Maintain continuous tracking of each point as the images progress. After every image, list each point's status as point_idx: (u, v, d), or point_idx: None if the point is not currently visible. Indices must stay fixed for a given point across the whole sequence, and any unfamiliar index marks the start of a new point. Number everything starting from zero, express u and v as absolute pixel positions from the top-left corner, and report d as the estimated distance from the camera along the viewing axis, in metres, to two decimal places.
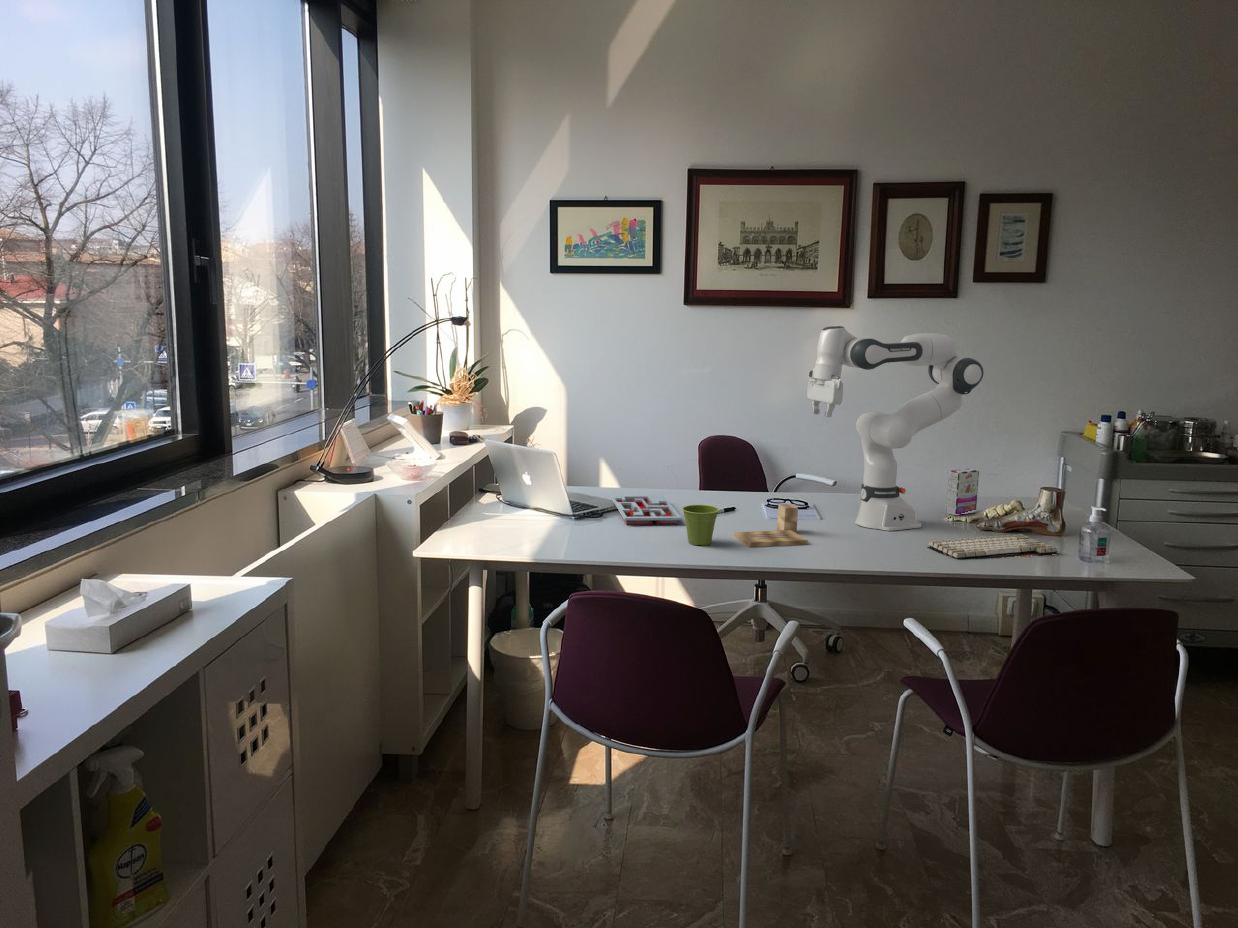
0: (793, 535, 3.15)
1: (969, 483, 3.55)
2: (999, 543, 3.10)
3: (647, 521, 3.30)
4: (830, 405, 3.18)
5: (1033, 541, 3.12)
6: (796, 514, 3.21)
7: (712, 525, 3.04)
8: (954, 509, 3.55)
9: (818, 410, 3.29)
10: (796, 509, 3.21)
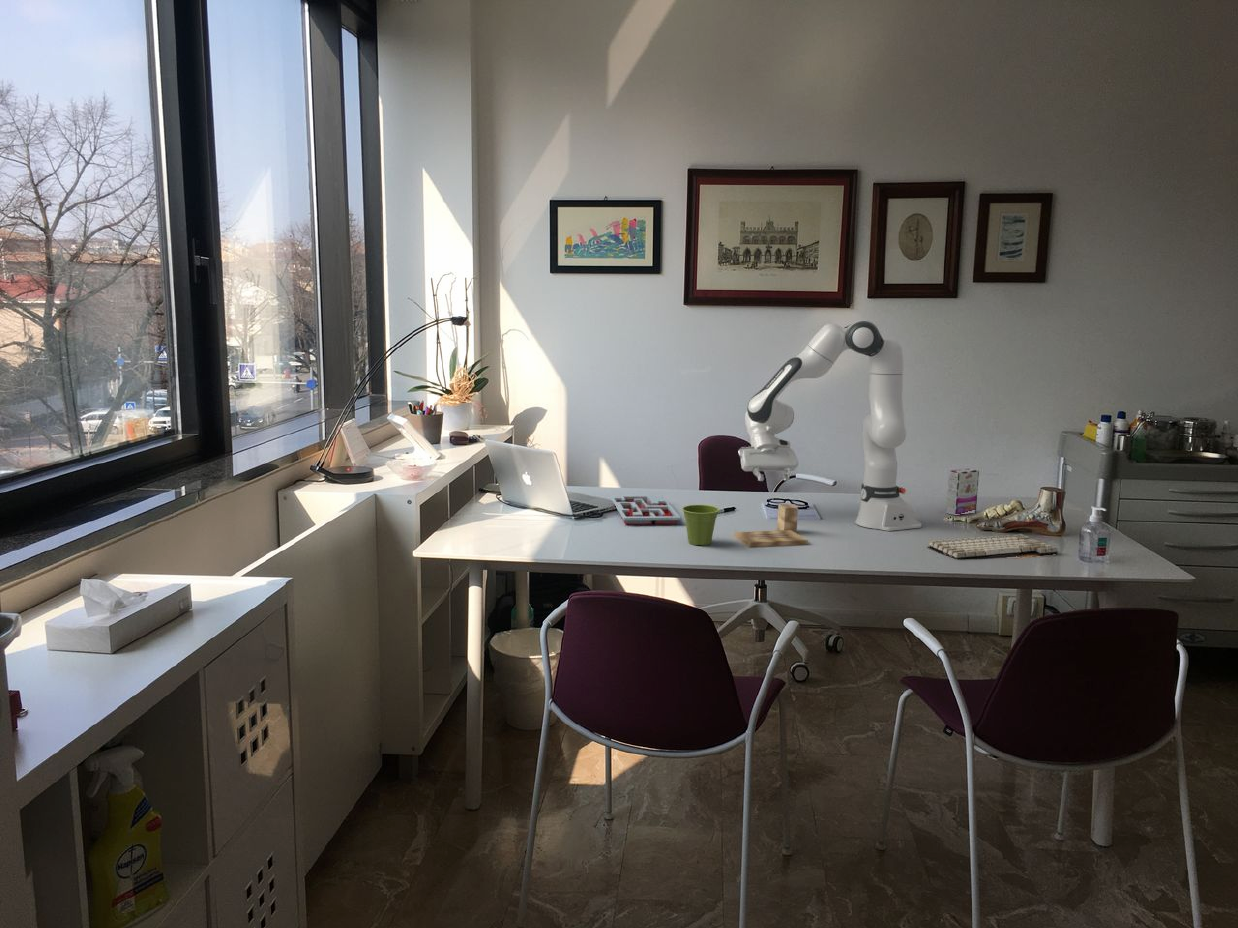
0: (793, 535, 3.15)
1: (969, 483, 3.55)
2: (999, 543, 3.10)
3: (646, 521, 3.30)
4: (753, 471, 3.34)
5: (1033, 541, 3.12)
6: (796, 514, 3.21)
7: (712, 525, 3.04)
8: (954, 509, 3.55)
9: (784, 475, 3.35)
10: (796, 509, 3.21)
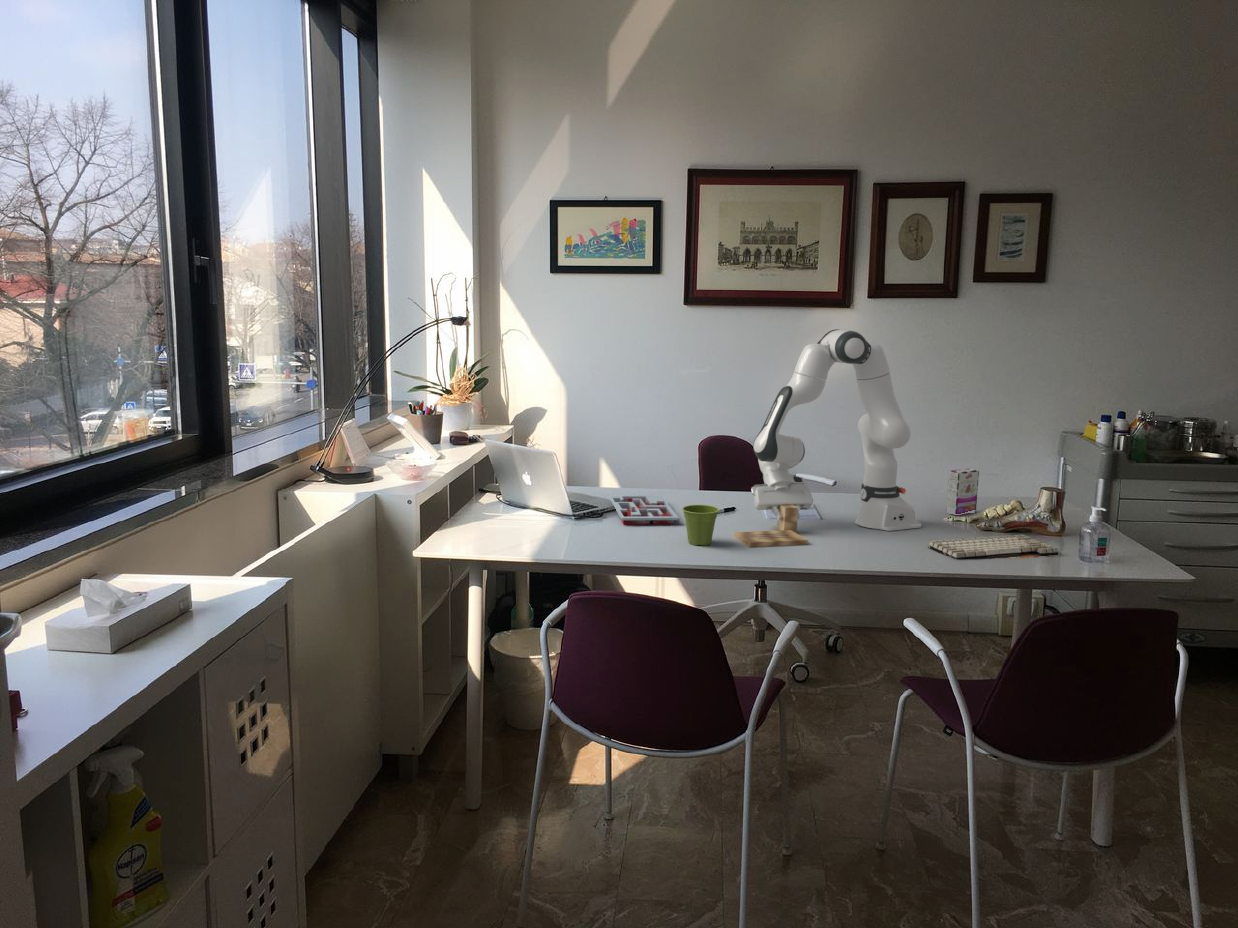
0: (793, 535, 3.15)
1: (969, 483, 3.55)
2: (1000, 543, 3.09)
3: (644, 521, 3.30)
4: (771, 509, 3.24)
5: (1034, 541, 3.12)
6: (796, 514, 3.21)
7: (712, 525, 3.04)
8: (954, 509, 3.55)
9: None
10: (796, 509, 3.21)
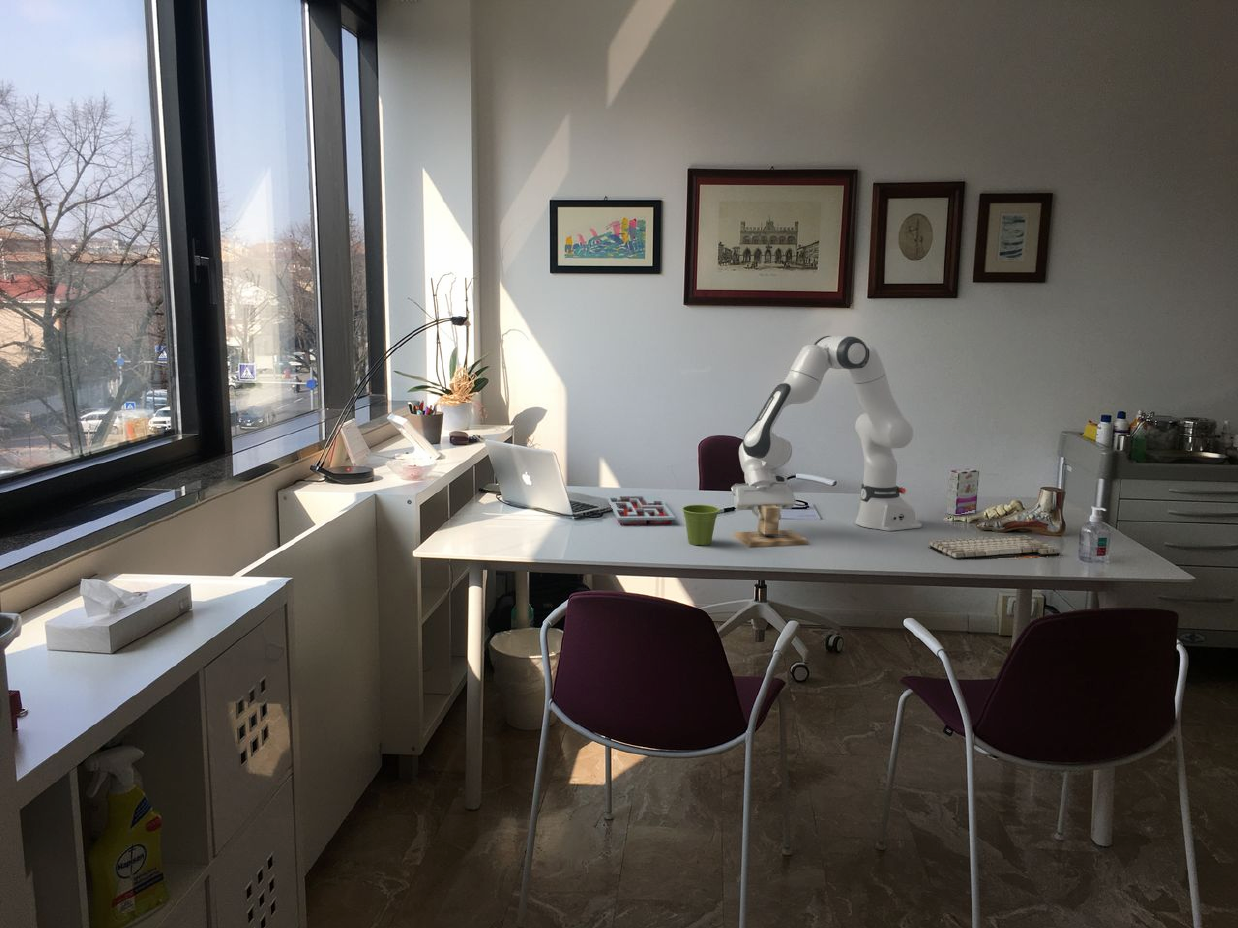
0: (793, 535, 3.15)
1: (969, 483, 3.55)
2: (1001, 544, 3.09)
3: (641, 521, 3.30)
4: (752, 510, 3.12)
5: (1036, 542, 3.11)
6: (777, 514, 3.10)
7: (712, 525, 3.04)
8: (954, 509, 3.55)
9: None
10: (777, 509, 3.09)
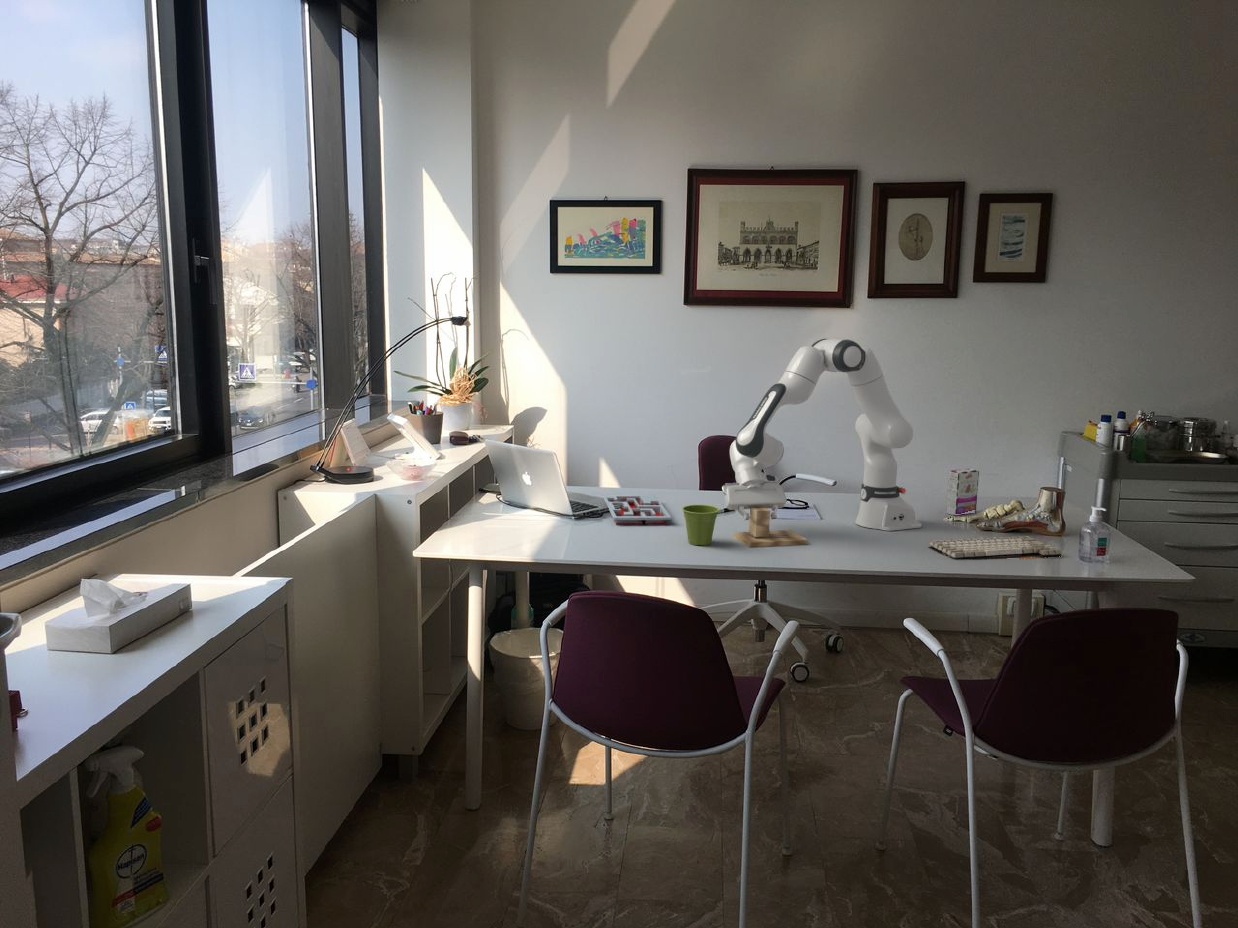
0: (793, 535, 3.15)
1: (969, 483, 3.55)
2: (1002, 544, 3.08)
3: (637, 521, 3.30)
4: (738, 509, 3.11)
5: (1038, 543, 3.10)
6: (768, 517, 3.09)
7: (712, 525, 3.04)
8: (954, 509, 3.55)
9: (771, 513, 3.12)
10: (768, 512, 3.09)
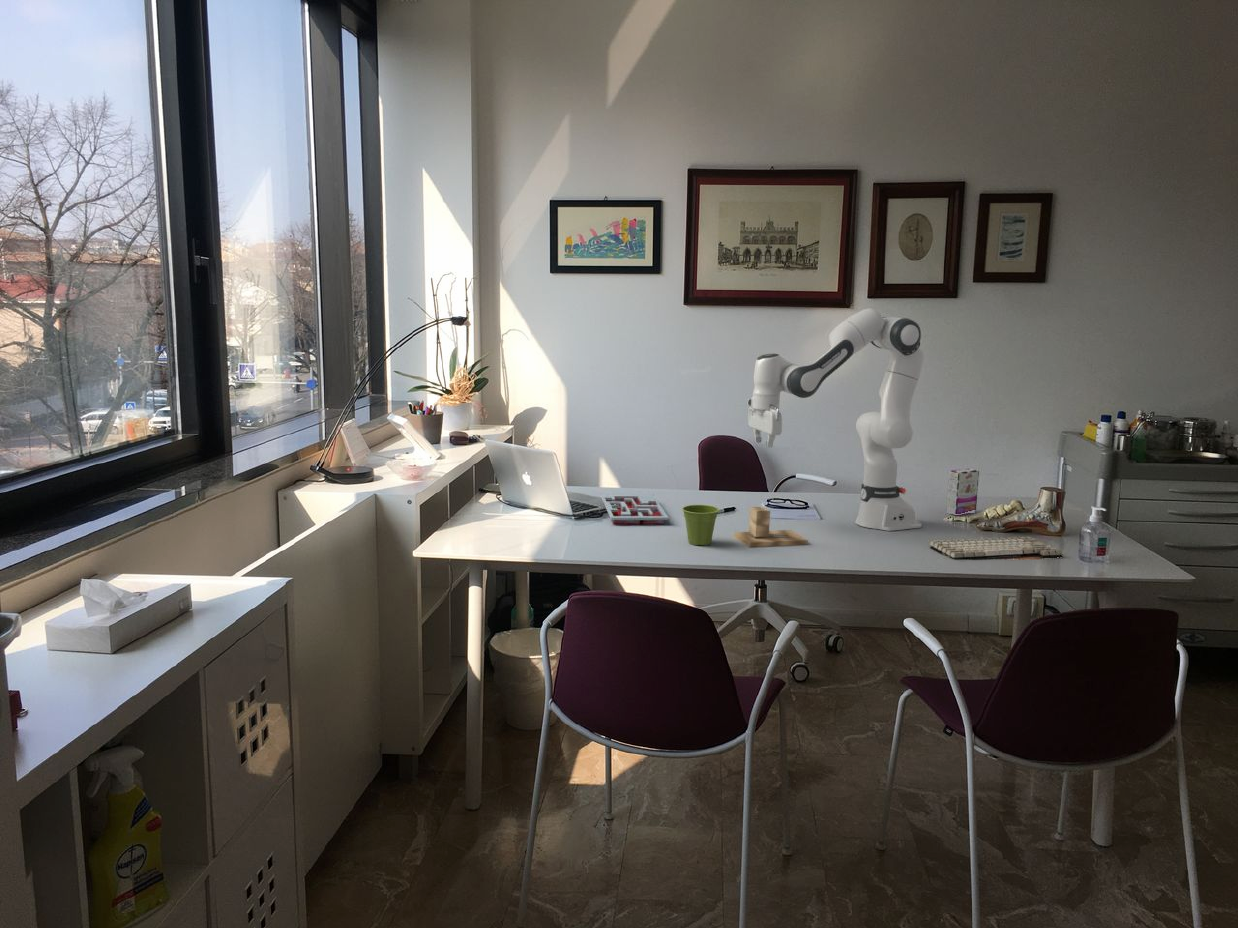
0: (793, 535, 3.15)
1: (969, 483, 3.55)
2: (1003, 545, 3.08)
3: (634, 521, 3.30)
4: (770, 435, 3.15)
5: (1039, 544, 3.09)
6: (768, 517, 3.09)
7: (712, 525, 3.04)
8: (954, 509, 3.55)
9: (760, 438, 3.25)
10: (768, 512, 3.09)
